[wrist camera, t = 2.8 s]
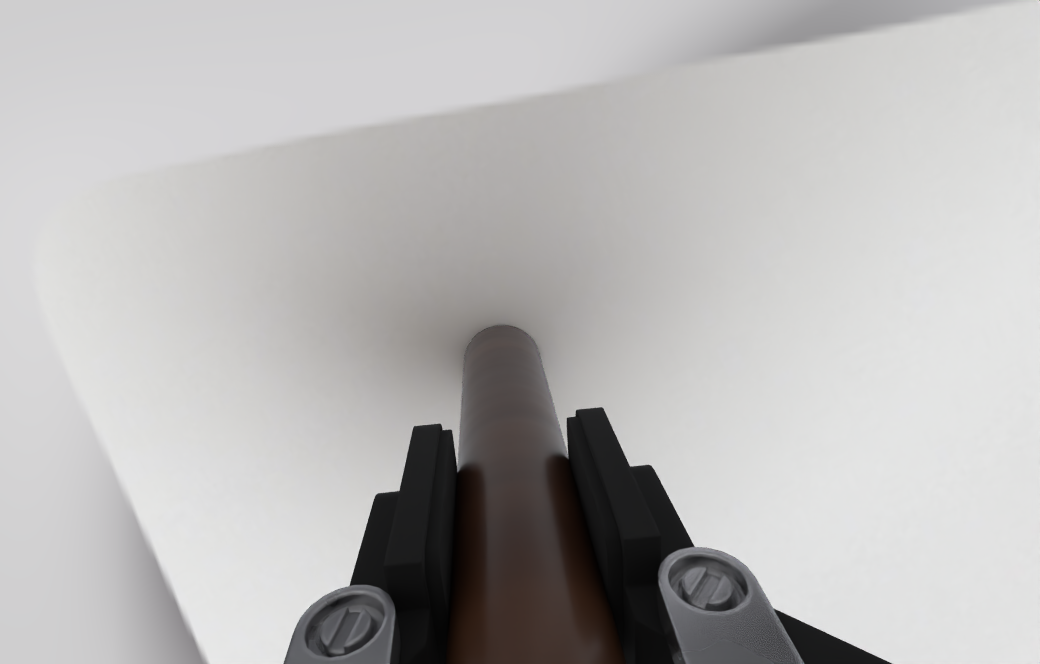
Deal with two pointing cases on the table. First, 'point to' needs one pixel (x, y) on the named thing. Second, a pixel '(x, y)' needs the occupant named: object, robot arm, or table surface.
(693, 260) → the table surface
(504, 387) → the stick
